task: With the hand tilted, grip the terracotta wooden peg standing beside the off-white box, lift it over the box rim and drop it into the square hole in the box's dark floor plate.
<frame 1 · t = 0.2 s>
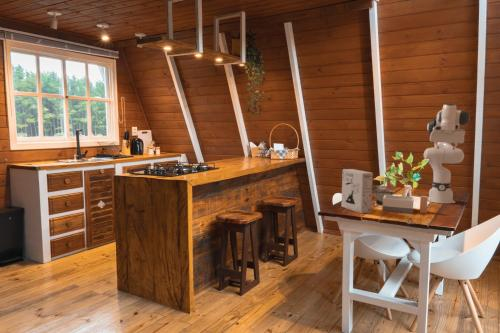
hand: (445, 149, 257), 39 cm above the table, tool pointing down, fingers open, 8 cm apart
cereal box: (355, 209, 254), on the table
socket box: (397, 209, 254), on the table
food container: (383, 204, 272), on the table
peg: (423, 212, 248), on the table
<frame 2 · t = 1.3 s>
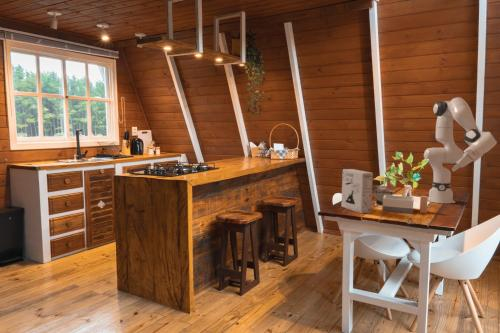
hand: (452, 170, 240), 27 cm above the table, tool tilted 45°, fingers open, 8 cm apart
nothing on the table moved.
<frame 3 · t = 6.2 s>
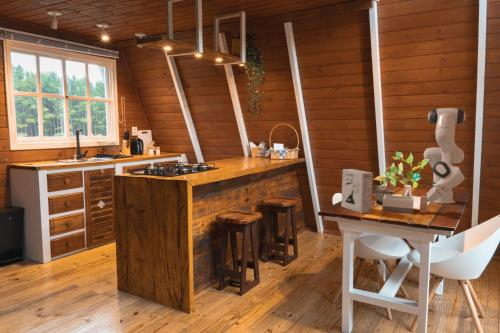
hand: (422, 202, 248), 6 cm above the table, tool tilted 45°, fingers closed on peg, 4 cm apart
peg: (423, 212, 248), on the table, touching gripper
everything else where it was.
when the fingers open (8 cm above the table, at t = 13.8 s): peg drops 2 cm, resting in socket box.
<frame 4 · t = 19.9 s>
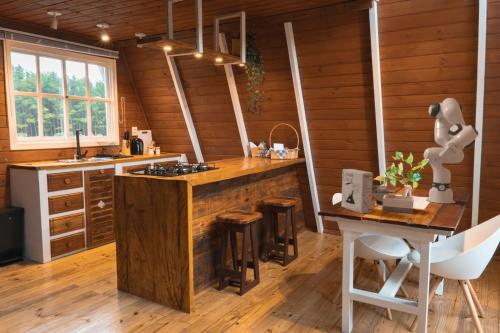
hand: (435, 162, 249), 31 cm above the table, tool tilted 45°, fingers open, 8 cm apart
peg: (391, 209, 256), resting in socket box
everything else where it was.
at the end: peg 0.2 cm from the target spot on the socket box, point 0.0 cm above the socket box's base; peg tilted 0°; the gripper is holding nothing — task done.
